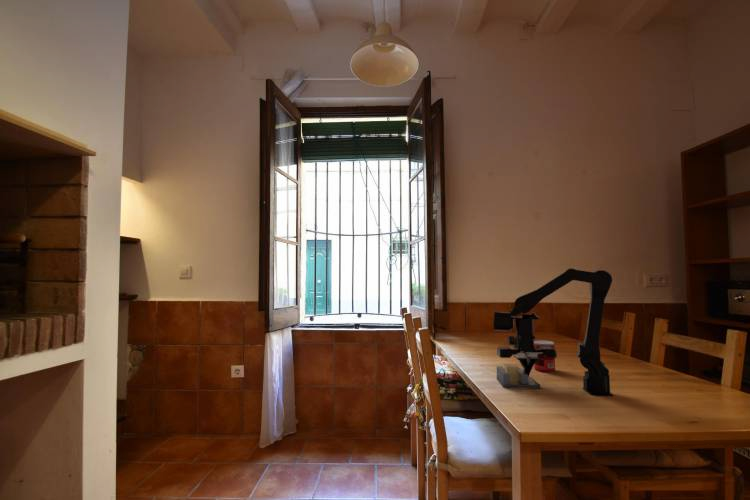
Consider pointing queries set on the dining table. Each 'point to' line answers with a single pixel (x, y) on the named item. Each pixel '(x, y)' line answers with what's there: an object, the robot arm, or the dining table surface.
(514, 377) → the block
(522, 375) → the jaw
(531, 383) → the vise base
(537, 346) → the canned food
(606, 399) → the dining table surface
